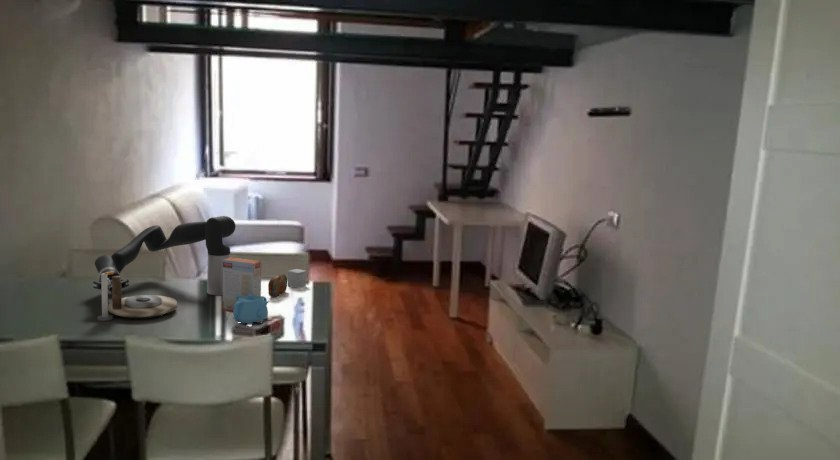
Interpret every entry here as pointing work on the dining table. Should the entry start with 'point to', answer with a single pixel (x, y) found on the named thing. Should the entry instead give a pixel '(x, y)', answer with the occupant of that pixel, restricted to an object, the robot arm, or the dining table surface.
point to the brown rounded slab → (277, 286)
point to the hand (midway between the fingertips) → (113, 289)
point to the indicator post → (105, 298)
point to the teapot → (250, 308)
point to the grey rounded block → (296, 278)
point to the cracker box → (240, 280)
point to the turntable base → (142, 317)
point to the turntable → (138, 303)
